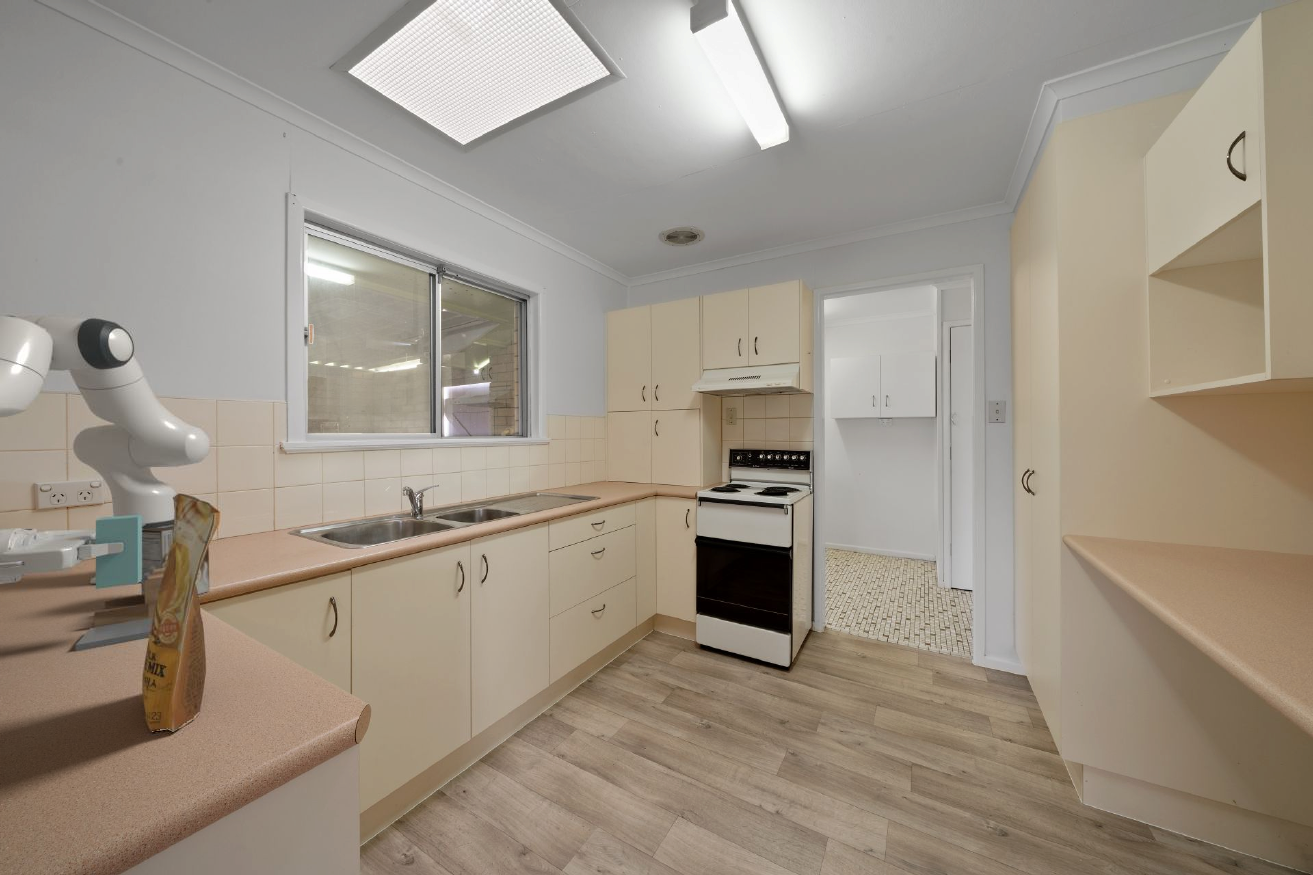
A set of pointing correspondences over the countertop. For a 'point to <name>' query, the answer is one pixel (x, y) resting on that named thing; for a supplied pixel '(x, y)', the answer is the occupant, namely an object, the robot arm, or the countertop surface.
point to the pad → (115, 634)
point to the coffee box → (157, 553)
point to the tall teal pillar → (123, 564)
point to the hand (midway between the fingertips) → (127, 543)
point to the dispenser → (132, 602)
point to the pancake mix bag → (179, 622)
